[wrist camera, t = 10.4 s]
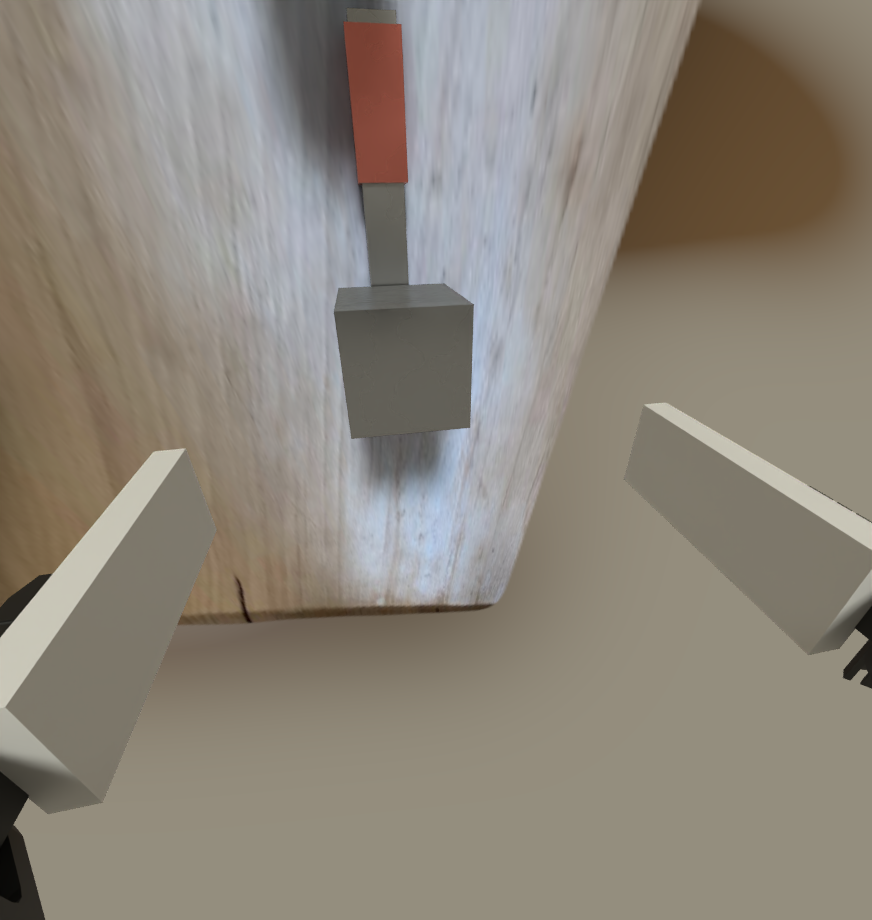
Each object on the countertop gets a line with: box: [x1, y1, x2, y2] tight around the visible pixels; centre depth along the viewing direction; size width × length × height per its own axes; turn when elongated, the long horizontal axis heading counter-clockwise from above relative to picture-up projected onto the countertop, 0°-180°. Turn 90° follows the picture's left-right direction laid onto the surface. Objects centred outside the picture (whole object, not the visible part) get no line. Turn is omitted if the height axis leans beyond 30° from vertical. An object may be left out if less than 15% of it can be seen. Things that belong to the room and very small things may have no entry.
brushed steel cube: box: [334, 284, 474, 439], centre depth 23 cm, size 6×6×7 cm
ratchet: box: [344, 8, 409, 287], centre depth 22 cm, size 5×17×6 cm, turn 1°
